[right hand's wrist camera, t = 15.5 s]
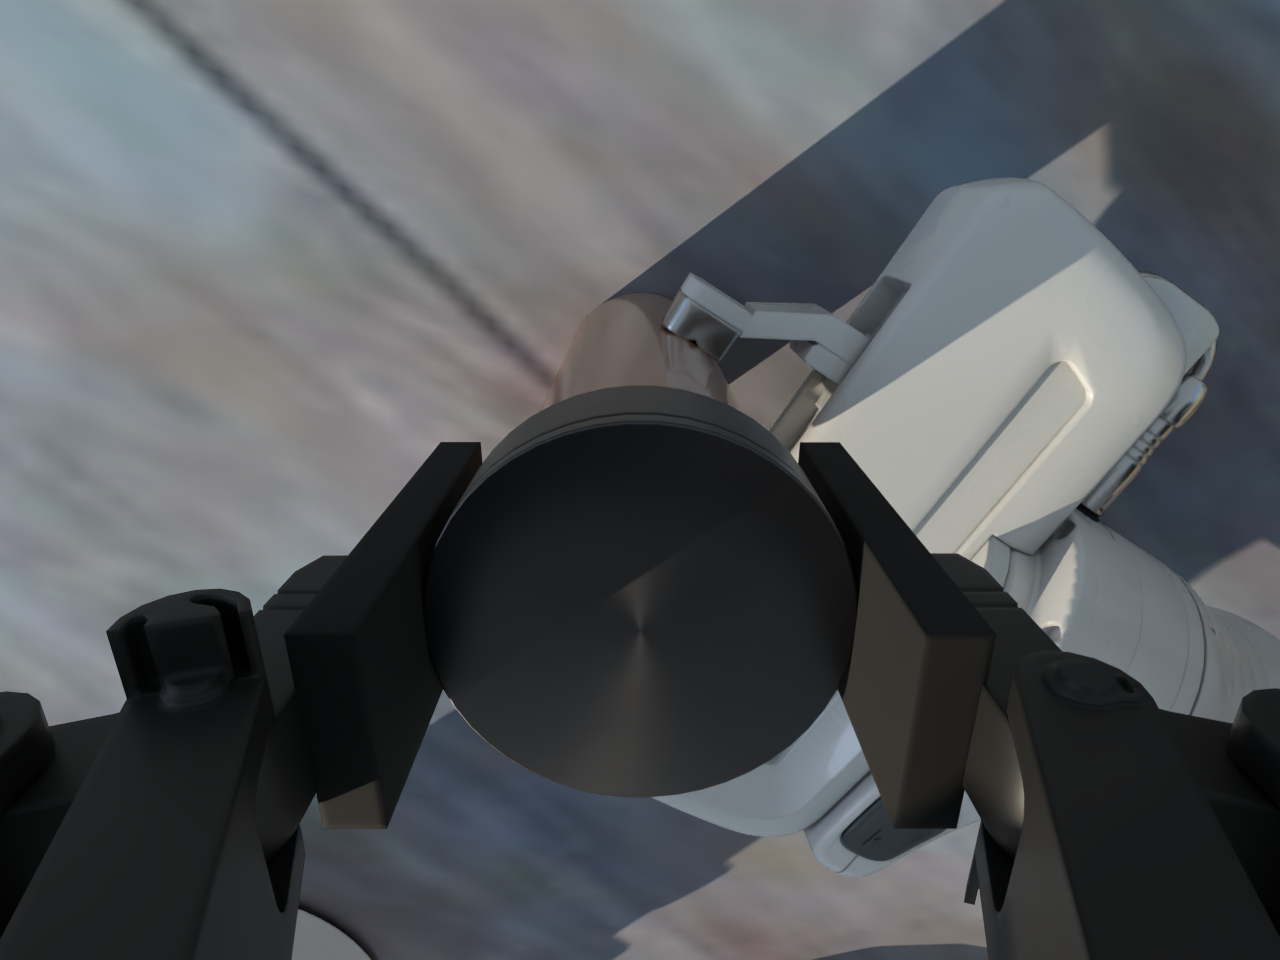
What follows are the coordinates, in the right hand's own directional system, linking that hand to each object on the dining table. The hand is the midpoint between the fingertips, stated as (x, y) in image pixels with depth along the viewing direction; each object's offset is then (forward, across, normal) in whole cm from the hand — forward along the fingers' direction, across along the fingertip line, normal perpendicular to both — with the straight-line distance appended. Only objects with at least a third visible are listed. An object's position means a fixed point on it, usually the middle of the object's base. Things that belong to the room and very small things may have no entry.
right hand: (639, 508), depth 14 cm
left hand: (+7, -1, 0) cm, 7 cm away
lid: (-4, 0, 0) cm, 4 cm away
